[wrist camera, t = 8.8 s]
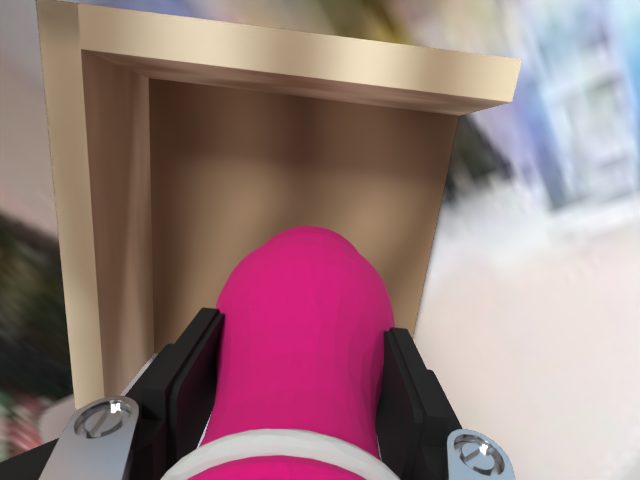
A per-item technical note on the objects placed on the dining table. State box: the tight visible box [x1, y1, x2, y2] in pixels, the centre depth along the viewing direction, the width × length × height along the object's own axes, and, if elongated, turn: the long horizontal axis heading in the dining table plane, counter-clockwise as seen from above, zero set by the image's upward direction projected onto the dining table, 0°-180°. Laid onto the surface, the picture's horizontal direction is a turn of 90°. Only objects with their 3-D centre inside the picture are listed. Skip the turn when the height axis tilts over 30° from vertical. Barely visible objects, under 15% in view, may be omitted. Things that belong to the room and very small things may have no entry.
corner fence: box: [36, 0, 522, 409], centre depth 17 cm, size 18×18×5 cm
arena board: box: [149, 78, 459, 354], centre depth 20 cm, size 18×18×1 cm
